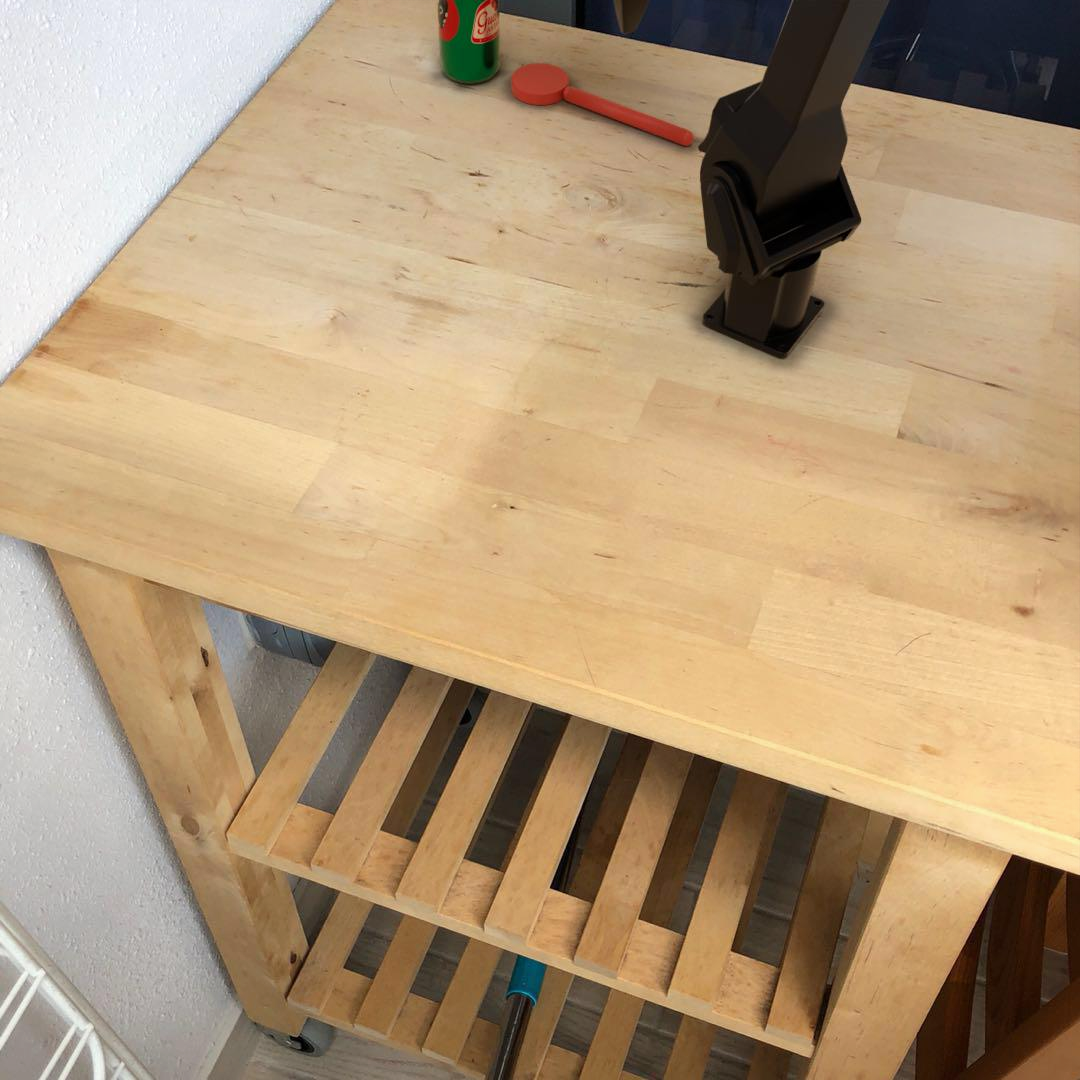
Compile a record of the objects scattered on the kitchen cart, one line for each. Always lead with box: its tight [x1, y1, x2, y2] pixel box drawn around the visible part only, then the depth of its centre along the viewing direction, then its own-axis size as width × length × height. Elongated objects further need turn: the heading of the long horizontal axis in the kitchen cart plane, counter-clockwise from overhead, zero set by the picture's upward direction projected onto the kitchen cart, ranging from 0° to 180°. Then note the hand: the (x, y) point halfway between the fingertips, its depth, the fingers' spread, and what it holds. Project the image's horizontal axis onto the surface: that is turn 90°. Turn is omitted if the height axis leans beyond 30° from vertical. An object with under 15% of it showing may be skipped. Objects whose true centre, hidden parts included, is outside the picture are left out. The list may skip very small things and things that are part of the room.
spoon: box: [510, 62, 695, 147], centre depth 97 cm, size 17×5×1 cm, turn 57°
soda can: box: [436, 0, 501, 85], centre depth 97 cm, size 5×5×12 cm
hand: (588, 2), depth 83 cm, fingers open, 9 cm apart
